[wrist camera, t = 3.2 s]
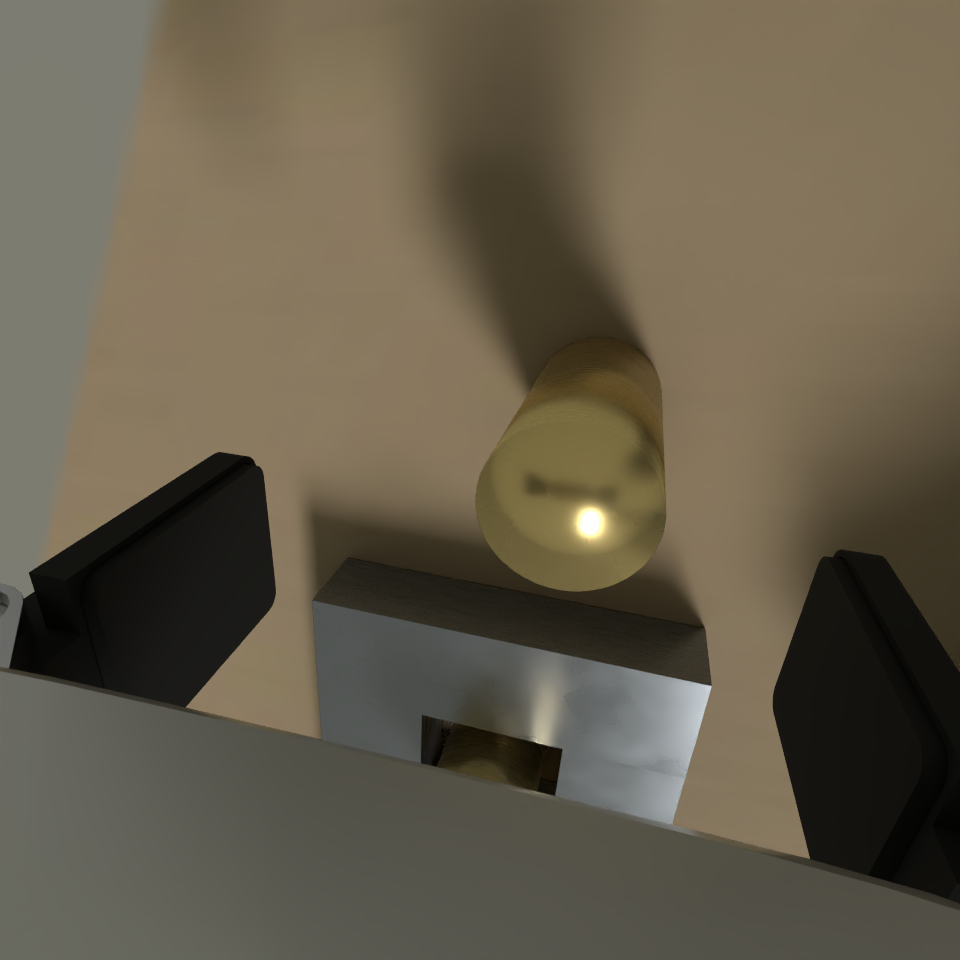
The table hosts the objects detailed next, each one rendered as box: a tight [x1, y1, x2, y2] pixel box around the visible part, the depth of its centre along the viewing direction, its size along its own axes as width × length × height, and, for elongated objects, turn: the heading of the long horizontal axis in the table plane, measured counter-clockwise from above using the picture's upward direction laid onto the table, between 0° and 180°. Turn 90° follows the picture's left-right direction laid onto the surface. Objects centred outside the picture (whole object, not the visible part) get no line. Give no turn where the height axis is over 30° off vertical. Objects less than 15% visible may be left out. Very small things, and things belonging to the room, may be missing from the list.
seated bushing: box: [437, 723, 546, 791], centre depth 24 cm, size 4×4×8 cm
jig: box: [312, 558, 712, 825], centre depth 28 cm, size 14×24×3 cm, turn 177°
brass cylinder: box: [476, 337, 666, 591], centre depth 17 cm, size 4×4×8 cm
